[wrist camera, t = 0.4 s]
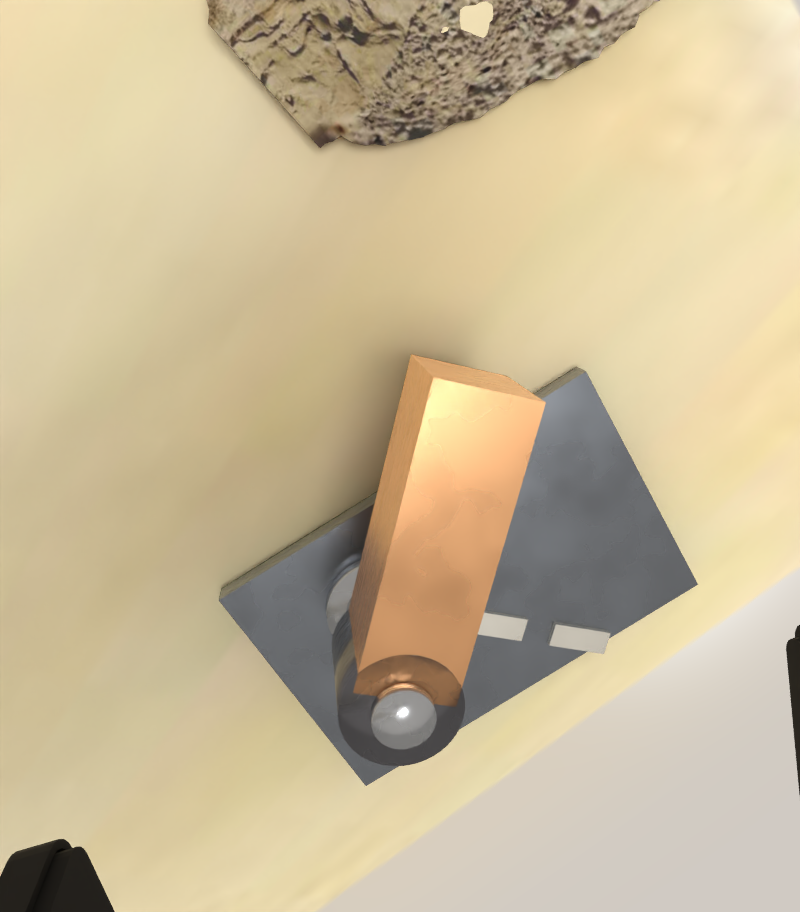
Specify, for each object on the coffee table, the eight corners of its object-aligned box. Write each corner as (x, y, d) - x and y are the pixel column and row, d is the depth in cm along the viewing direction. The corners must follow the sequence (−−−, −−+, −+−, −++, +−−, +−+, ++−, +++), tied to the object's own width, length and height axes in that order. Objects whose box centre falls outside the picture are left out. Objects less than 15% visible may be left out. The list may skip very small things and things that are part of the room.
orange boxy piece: (425, 697, 34) (449, 783, 29) (321, 683, 33) (326, 769, 28) (515, 378, 30) (562, 408, 25) (401, 352, 30) (424, 378, 24)
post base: (368, 775, 41) (376, 839, 36) (221, 588, 36) (211, 636, 32) (689, 580, 40) (736, 622, 36) (576, 366, 36) (614, 385, 31)
